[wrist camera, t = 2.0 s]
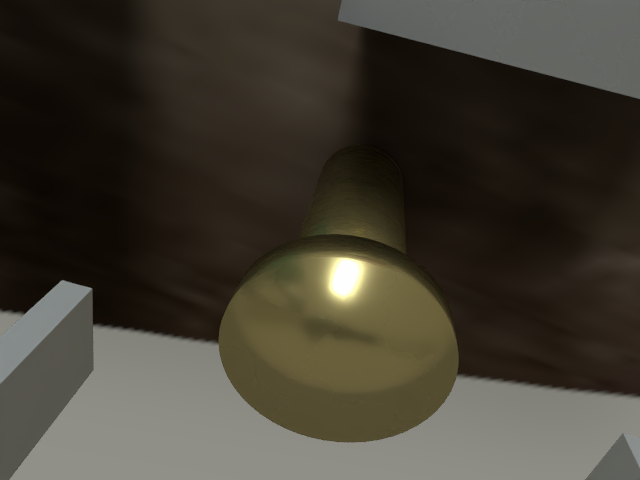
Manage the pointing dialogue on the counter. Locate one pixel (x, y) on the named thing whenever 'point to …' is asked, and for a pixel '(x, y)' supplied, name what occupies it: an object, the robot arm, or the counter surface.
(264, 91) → the counter surface
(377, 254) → the brass pin
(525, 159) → the counter surface
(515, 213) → the counter surface
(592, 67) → the block
